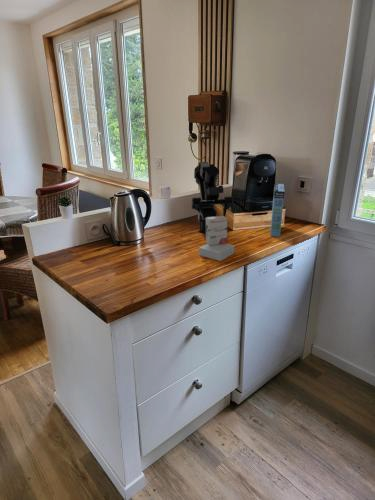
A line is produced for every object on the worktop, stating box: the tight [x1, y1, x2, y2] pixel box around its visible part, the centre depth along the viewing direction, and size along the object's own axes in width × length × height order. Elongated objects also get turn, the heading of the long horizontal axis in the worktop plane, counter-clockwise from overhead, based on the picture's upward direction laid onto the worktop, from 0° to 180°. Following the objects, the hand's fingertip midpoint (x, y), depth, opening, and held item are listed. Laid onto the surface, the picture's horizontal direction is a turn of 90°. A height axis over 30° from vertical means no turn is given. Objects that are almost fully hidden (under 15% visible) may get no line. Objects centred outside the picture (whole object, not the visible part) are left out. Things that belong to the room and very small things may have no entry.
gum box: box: [270, 183, 286, 238], centre depth 172 cm, size 20×5×23 cm, turn 166°
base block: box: [198, 243, 235, 262], centre depth 147 cm, size 11×11×4 cm
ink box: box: [205, 215, 228, 245], centre depth 149 cm, size 9×5×12 cm, turn 106°
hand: (214, 218), depth 151 cm, fingers open, 9 cm apart
